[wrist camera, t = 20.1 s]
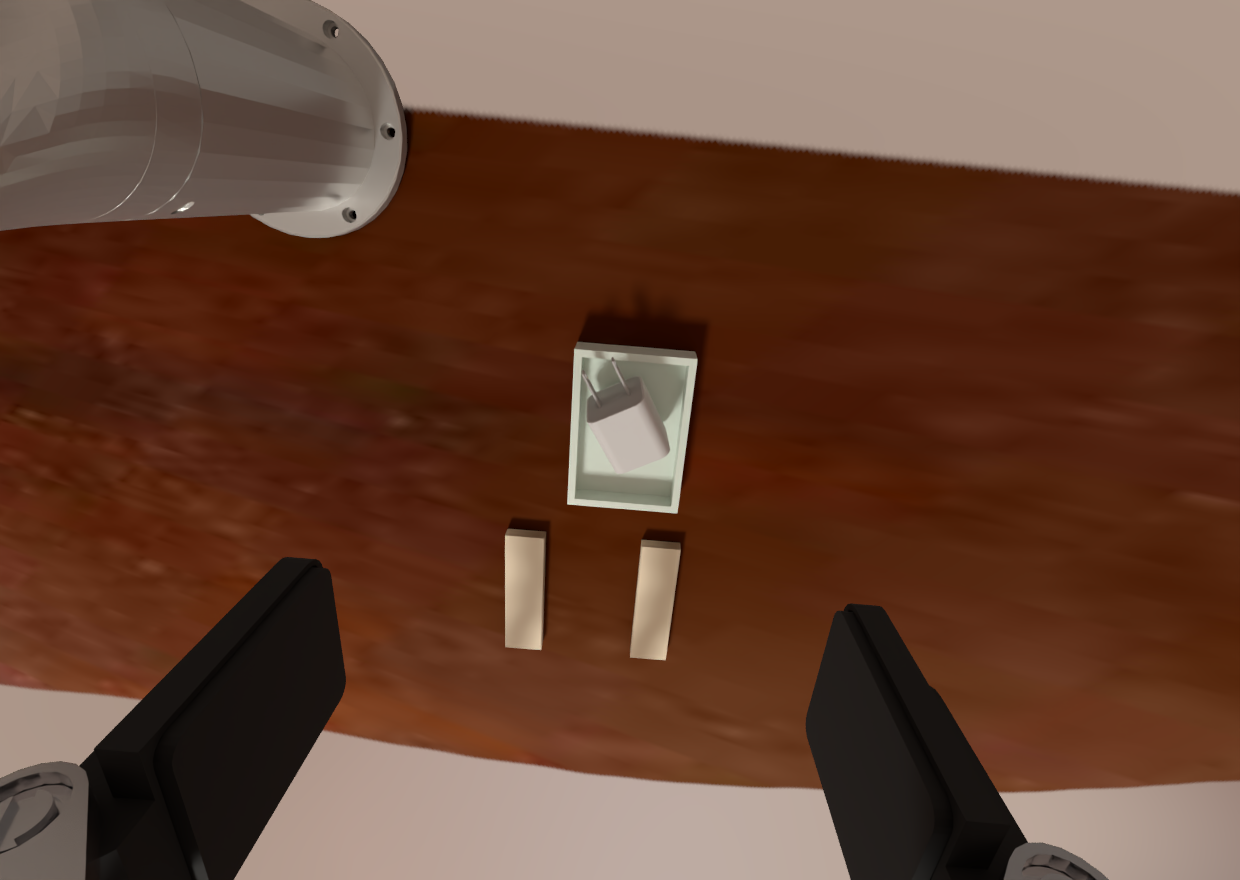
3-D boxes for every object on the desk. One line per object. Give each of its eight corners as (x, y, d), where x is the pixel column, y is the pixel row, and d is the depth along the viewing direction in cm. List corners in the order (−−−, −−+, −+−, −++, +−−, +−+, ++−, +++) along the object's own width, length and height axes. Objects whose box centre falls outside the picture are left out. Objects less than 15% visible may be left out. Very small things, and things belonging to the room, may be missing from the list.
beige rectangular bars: (508, 638, 50) (505, 646, 49) (508, 528, 45) (505, 535, 44) (665, 651, 50) (665, 660, 49) (679, 542, 45) (680, 550, 44)
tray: (570, 491, 44) (567, 504, 42) (577, 341, 39) (574, 349, 38) (675, 499, 44) (677, 513, 42) (695, 351, 39) (697, 359, 38)
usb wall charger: (613, 444, 42) (615, 476, 38) (569, 364, 38) (567, 392, 35) (664, 423, 41) (671, 454, 38) (624, 340, 37) (628, 366, 34)
